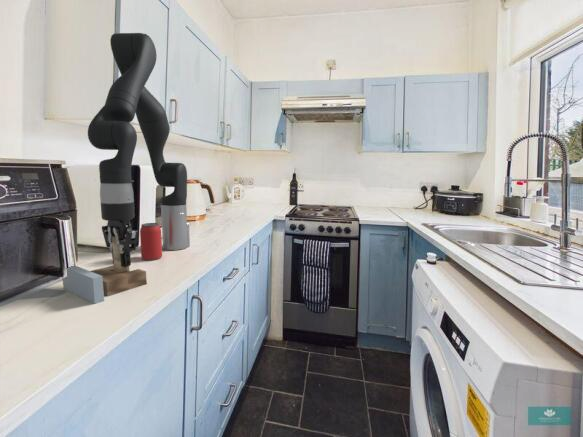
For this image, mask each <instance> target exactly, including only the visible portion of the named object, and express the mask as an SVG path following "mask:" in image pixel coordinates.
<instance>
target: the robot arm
mask: <svg viewBox="0 0 583 437" xmlns="http://www.w3.org/2000/svg"><path fill="white" fill-rule="evenodd" d="M109 42H110V48H111V53H112V56H113V59H114V61H115V63H116V66H117V69H118V70H119V73H120V76H119V77H118V78H117V79H116V80H115V81H114V82H113V83H112V84H111V85H110V87H109V89H108V90H109V91H108V92H107V93H108V94H107V96H106V100H105V103H104V105H103V106H102V107H101V108H100V109H99V111H97V113H96V115H95V116H93V118H92V119H91V121H90V123H89V125H88V128H87V138H88V141H89V143H90V144H91V145H92V146H93V147H94V148H96V149H98V150H101V151H102V150H106V151H107V150H108V151H109V150H110V151H117V153H116V154H115V156H114V157H112V158H108V159H102V160H101V161H100V162H99V164H98V167H99V168H98V171H99V183H100V186H99V199H100V201H99V202H100V212H101V213H100V214H101V219H102V220H104V221H107V225H102V226H101V231H102V235H103V238H104V243H105V245H106V248H109V250H110V251H111V254H112V264H113V265H114V259H113V244H112V237H113V236H114V237H116V243H117V245H119V248H120V257H121V266H122V267H127V266H129V267H131V265H132V262H131V260H132V259H131V252H134V251H136V249H137V243H138V238H139V234H140V231H139V230H138V229H133V228H132V224H131V220H133V219H134V218H135V216H136V214H135V197H134V196H135V195H134V188H133V180H132V164H133V158H134V153H135V150H136V146H137V141H138V135H137V131H136V129H135V127H134V126H133V125H132V123H131V122H133V120H134V119H135V116H136V119H137V122H138V125H139V128H140V131H141V133H142V136H143V139H144V142H145V145H146V148H147V151H148V155H149V158H150V159H149V160H150V162H151V164H150V165H151V167H152V172H153V176H154V178H155V181H156V183H157V185H159V186H160V187H162V188H163V187H165V188H174V189H173V191H172V192H171V193H170V194H168V195H163V196H162V197H161V198H160V209H161V210H160V212H161V213H160V214H161V238H162V250H166V251H178V250H184V249H187V248H188V247H190V246H191V245H190V243H191V242H190V240H191V239H190V223H189V222H188V215H187V212H188V211H187V197H188V193H187V192H188V171H187V167H186V166H185V164H184V163H182V162H166V161H165V157H164V148H165V145H166V143H167V141H168V139H169V136H170V130H171V129H170V123H169V119H168V116H167V112H166V110H165V108H164V106H163V105H162V103H161V102H160V101H159V100H158V99H157V98H156V97H155V96H154V95H153V94H152V93H151V92H150V91H149V90H148V89H147V87H146V86H145V85H147V84H146V83H147V82H148V80H149V79H150V76H151V74H152V72H153V70H154V68H155V66H156V63H157V48H156V46H155V43H154V41H153V39H152V37H150V36H149V35H148V34H146V33H142V32H121V33H120V32H119V33H118V32H116V33H113V34H112V35H111V36H110V41H109ZM124 239H125V241H121V240H124ZM123 244H125V245H124V246H123Z"/></svg>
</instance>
